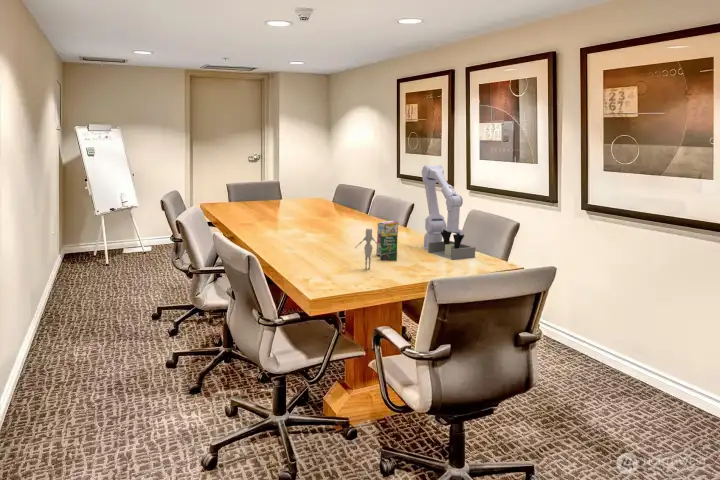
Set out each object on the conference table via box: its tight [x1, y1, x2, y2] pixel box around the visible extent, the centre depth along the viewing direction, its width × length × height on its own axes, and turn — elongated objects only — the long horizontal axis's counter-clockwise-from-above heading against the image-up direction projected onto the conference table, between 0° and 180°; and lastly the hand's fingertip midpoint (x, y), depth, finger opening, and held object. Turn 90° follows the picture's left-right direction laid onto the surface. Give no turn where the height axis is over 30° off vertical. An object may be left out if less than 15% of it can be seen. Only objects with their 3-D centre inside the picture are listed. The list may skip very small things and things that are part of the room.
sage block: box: [445, 244, 455, 256], centre depth 277 cm, size 4×4×5 cm
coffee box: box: [379, 232, 398, 261], centre depth 263 cm, size 8×3×13 cm, turn 92°
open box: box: [427, 240, 476, 261], centre depth 277 cm, size 19×14×6 cm
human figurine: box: [354, 228, 381, 270], centre depth 243 cm, size 12×4×18 cm, turn 96°
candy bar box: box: [375, 220, 399, 257], centre depth 275 cm, size 11×5×16 cm, turn 141°
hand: (451, 247), depth 277 cm, fingers open, 7 cm apart
